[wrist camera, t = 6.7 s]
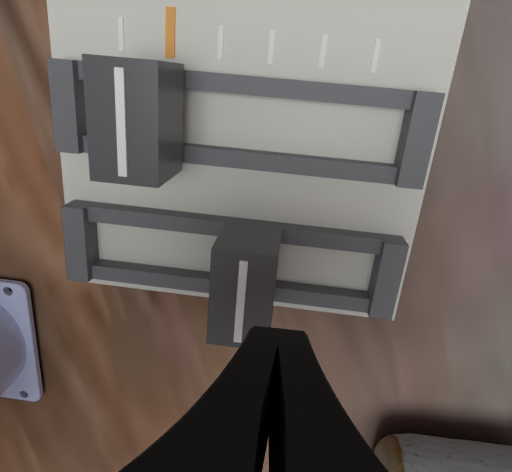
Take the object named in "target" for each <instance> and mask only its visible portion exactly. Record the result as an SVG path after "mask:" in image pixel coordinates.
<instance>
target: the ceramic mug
mask: <svg viewBox="0 0 512 472" xmlns="http://www.w3.org/2000/svg"><path fill="white" fill-rule="evenodd" d="M374 453H375V455H376V456H377V457H378V459H379V460H380V461H381V463H382V464H383V465H384V466H385V468H386V469H387V470H388V471H389V472H512V446H510V445H501V444H492V443H485V442H478V441H471V440H460V439H449V438H443V437H437V436H429V435H421V434H413V433H407V434H392V435H387V436H385V437H384V438H382V439H381V440H380V441H379V442H378V444H377V445H376V447H375V449H374Z"/></svg>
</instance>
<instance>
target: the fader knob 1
mask: <svg viewBox="0 0 512 472" xmlns="http://www.w3.org/2000/svg"><path fill="white" fill-rule="evenodd" d="M82 67H83V82H84V98H85V113H86V128H87V144H88V159H89V175H90V181H96V182H105V183H115V184H124V185H133V186H142V187H151V188H159V187H161V186H162V185H163V184H165V183H166V182H167V181H169V180H170V179H171V178H172V177H174V176H175V175H176V174H178V173H179V172H180V171H182V146H183V120H184V96H183V90H184V64H180V63H173V62H167V61H160V60H149V59H138V58H127V57H115V56H104V55H93V54H82Z"/></svg>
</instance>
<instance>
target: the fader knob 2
mask: <svg viewBox="0 0 512 472" xmlns="http://www.w3.org/2000/svg"><path fill="white" fill-rule="evenodd" d="M281 233H282V228H277V227H268V226H259V225H250V224H241V223H233V222H225V223H224V225H223V227H222V229H221V231H220V233H219V235H218V237H217V239H216V240H215V242H214V244H213V246H212V248H211V260H210V282H209V303H208V324H207V343H208V344H216V345H223V346H231V347H240V346H241V344H242V343H243V341H244V339H245V337H246V335H247V333H248V331H249V329H250V328H252V327H253V326H261V327H270V328H271V321H272V313H273V304H274V295H275V286H276V277H277V269H278V260H279V251H280V242H281Z"/></svg>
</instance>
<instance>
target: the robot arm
mask: <svg viewBox="0 0 512 472" xmlns="http://www.w3.org/2000/svg"><path fill="white" fill-rule="evenodd" d="M8 287H9V288H11V289H12V291H13V292H12V291H10V290H9V288H8ZM42 396H43V387H42V379H41V372H40V364H39V356H38V349H37V341H36V334H35V326H34V319H33V311H32V304H31V296H30V290H29V287H28V286H27V284H25V283H24V282H21V281H15V280H7V279H0V397H6V398H13V399H20V400H26V401H38V400H39V399H40V398H41V397H42ZM268 435H269V472H389V471H388V470H387V469H386V468H385V466H384V465H383V464H382V463H381V461H380V460H379V459H378V457H377V456H376V455H375V453H374V452H373V451H372V449H371V448H370V447H369V445H368V444H367V443H366V441H365V440H364V439H363V437H362V436H361V434H360V433H359V431H358V430H357V428H356V427H355V425H354V424H353V422H352V421H351V419H350V418H349V416H348V415H347V413H346V411H345V410H344V408H343V407H342V405H341V403H340V402H339V400H338V398H337V397H336V395H335V393H334V391H333V390H332V388H331V386H330V384H329V382H328V380H327V379H326V377H325V375H324V373H323V371H322V369H321V367H320V365H319V363H318V361H317V358H316V356H315V354H314V352H313V349H312V347H311V344H310V341H309V339H308V336H307V334H306V333H305V332H304V331H297V330H288V329H279V328H270V327H261V326H253V327H252V328H250V329H249V331H248V333H247V335H246V337H245V339H244V341H243V343H242V344H241V346H240V347H239V349H238V350H237V352H236V353H235V355H234V356H233V358H232V359H231V361H230V362H229V363H228V365H227V366H226V367H225V369H224V370H223V371H222V373H221V374H220V375H219V377H218V378H217V379H216V380H215V381H214V383H213V384H212V385H211V386H210V387H209V388H208V390H207V391H206V392H205V393H204V394H203V395H202V396H201V398H200V399H199V400H198V401H197V402H196V403H195V404H194V405H193V406H192V407H191V408H190V410H189V411H188V412H187V413H186V414H185V415H184V416H183V417H182V418H181V419H180V420H179V421H178V422H176V423H175V424H174V425H173V426H172V427H171V428H170V429H169V430H168V431H167V432H166V433H165V434H164V435H162V436H161V437H160V438H159V439H158V440H157V441H156V442H154V443H153V444H152V445H151V446H150V447H149V448H147V449H146V450H145V451H144V452H143V453H142V454H140V455H139V456H138V457H137V458H135V459H134V460H133V461H132V462H130V463H129V464H128V465H127V466H125V467H124V468H123V469H121V470H120V471H119V472H262V468H263V463H264V457H265V452H266V446H267V441H268Z"/></svg>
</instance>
